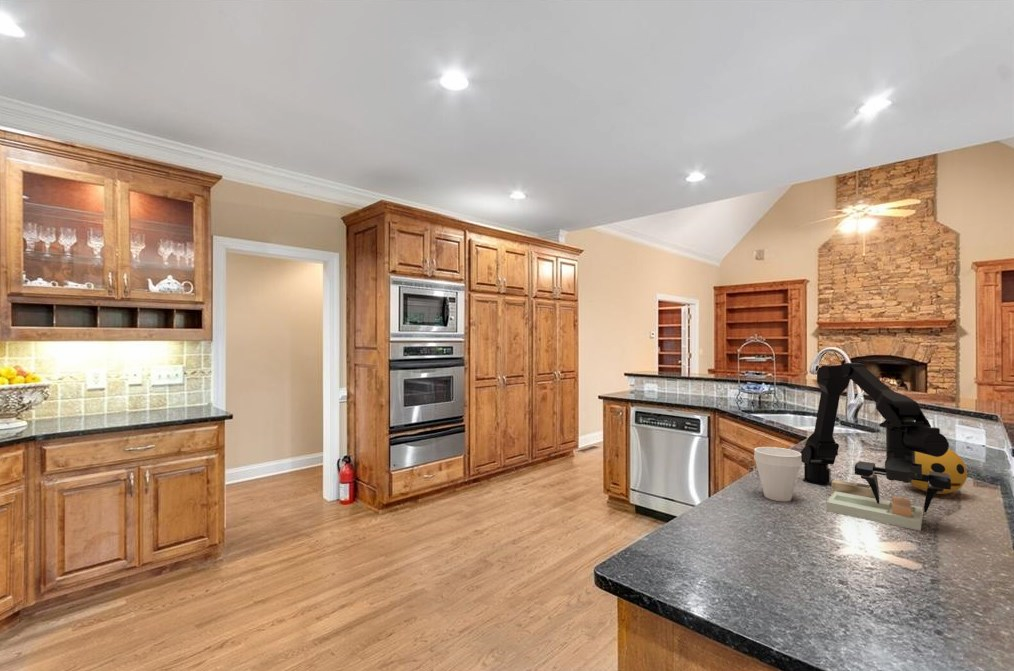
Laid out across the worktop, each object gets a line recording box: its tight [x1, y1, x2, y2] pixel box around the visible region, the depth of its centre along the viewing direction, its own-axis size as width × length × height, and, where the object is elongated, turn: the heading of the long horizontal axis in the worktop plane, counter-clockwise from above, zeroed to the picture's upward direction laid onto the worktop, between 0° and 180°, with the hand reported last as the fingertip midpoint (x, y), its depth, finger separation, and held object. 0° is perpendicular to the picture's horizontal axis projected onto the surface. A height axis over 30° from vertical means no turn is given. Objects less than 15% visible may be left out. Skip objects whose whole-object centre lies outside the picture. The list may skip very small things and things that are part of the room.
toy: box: [910, 448, 968, 495], centre depth 140 cm, size 15×15×15 cm
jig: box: [826, 491, 924, 532], centre depth 122 cm, size 19×13×2 cm
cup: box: [753, 446, 803, 502], centre depth 135 cm, size 12×12×14 cm
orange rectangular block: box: [891, 495, 911, 517], centre depth 118 cm, size 4×9×4 cm, turn 140°
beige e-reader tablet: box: [830, 479, 875, 499], centre depth 136 cm, size 10×4×4 cm, turn 46°
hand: (901, 507), depth 118 cm, fingers open, 9 cm apart
